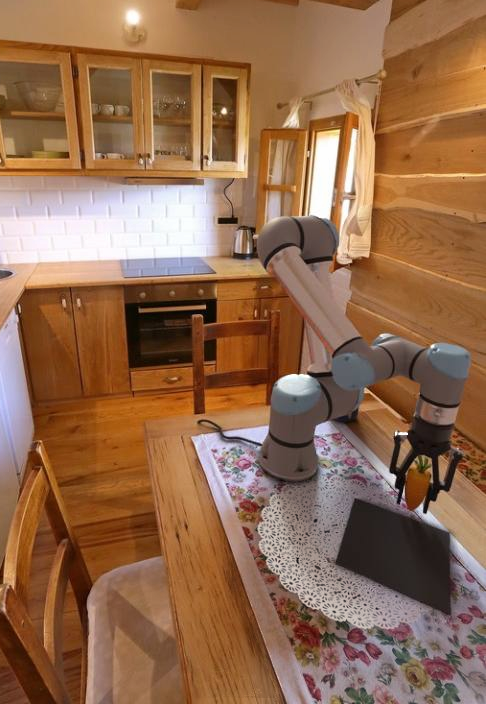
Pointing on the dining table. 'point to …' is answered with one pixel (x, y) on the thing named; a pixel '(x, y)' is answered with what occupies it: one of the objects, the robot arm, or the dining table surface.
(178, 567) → the dining table surface
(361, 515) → the mat
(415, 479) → the carrot
